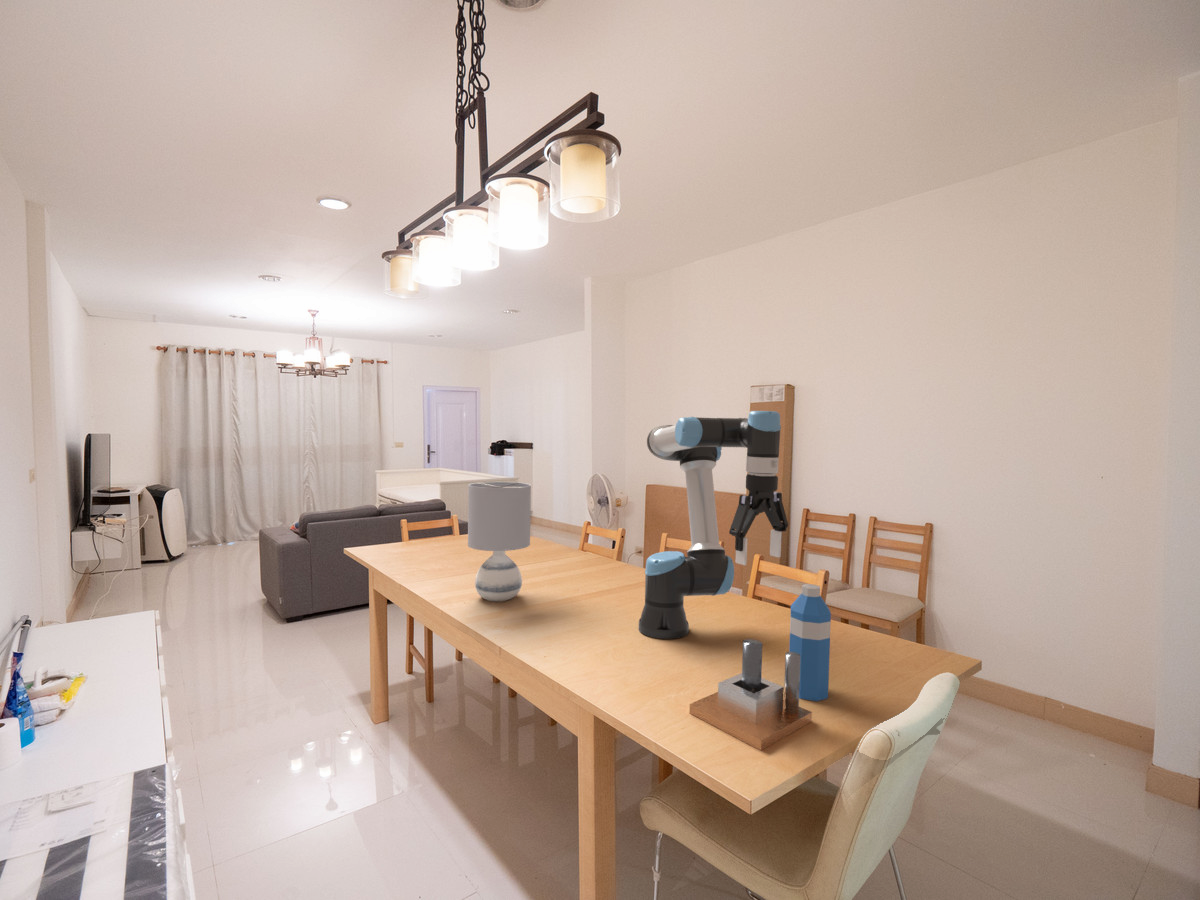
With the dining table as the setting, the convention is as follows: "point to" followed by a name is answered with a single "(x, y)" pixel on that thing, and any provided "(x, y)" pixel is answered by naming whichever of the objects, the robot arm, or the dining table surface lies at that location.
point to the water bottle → (811, 642)
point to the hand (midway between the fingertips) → (758, 560)
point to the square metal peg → (752, 665)
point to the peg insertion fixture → (756, 708)
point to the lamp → (499, 534)
